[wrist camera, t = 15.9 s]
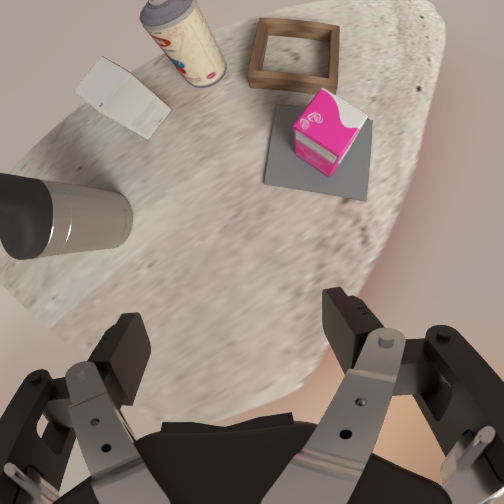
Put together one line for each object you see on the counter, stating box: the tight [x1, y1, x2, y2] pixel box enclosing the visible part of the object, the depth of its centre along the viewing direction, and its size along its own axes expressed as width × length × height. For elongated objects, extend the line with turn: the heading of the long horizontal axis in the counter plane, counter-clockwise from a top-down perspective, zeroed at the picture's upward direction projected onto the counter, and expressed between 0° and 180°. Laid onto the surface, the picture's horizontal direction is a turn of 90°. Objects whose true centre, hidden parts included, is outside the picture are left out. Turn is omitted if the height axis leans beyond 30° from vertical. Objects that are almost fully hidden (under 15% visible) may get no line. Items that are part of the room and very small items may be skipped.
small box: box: [75, 57, 172, 140], centre depth 33 cm, size 8×6×13 cm
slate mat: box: [264, 104, 373, 201], centre depth 36 cm, size 14×12×1 cm
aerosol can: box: [140, 0, 227, 88], centre depth 28 cm, size 7×7×20 cm
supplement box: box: [293, 88, 368, 177], centre depth 30 cm, size 6×6×12 cm
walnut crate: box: [247, 18, 340, 95], centre depth 34 cm, size 12×12×4 cm
